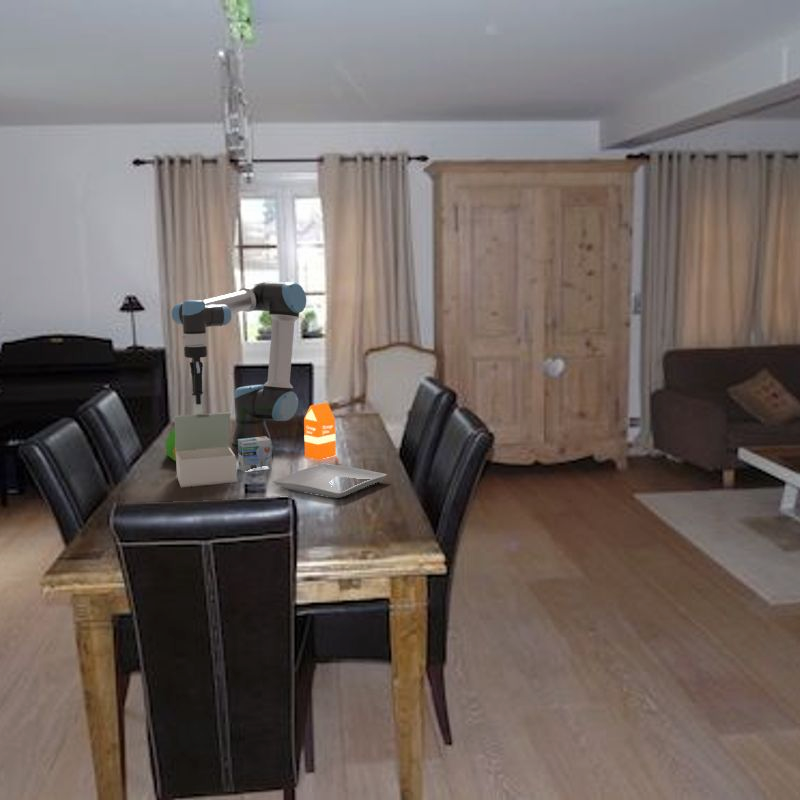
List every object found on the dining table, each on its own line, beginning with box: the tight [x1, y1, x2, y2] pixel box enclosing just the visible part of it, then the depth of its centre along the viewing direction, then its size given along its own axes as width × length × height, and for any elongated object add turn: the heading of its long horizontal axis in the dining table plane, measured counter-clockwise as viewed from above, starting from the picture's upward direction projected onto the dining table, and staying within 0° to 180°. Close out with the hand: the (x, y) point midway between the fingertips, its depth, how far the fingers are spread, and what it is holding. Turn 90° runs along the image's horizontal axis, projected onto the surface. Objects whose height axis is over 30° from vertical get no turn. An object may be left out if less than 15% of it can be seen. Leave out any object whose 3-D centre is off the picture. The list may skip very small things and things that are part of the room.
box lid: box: [174, 411, 231, 451], centre depth 274 cm, size 18×14×1 cm
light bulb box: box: [237, 436, 273, 473], centre depth 286 cm, size 11×7×11 cm, turn 117°
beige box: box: [175, 446, 237, 489], centre depth 272 cm, size 18×14×9 cm
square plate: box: [272, 463, 388, 499], centre depth 264 cm, size 27×27×4 cm
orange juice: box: [303, 402, 337, 461], centre depth 302 cm, size 8×9×20 cm
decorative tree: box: [165, 428, 196, 462], centre depth 304 cm, size 11×12×30 cm
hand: (198, 413), depth 282 cm, fingers closed
